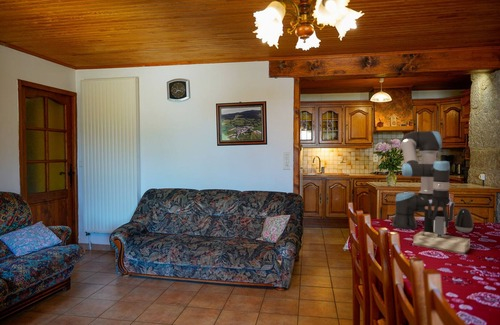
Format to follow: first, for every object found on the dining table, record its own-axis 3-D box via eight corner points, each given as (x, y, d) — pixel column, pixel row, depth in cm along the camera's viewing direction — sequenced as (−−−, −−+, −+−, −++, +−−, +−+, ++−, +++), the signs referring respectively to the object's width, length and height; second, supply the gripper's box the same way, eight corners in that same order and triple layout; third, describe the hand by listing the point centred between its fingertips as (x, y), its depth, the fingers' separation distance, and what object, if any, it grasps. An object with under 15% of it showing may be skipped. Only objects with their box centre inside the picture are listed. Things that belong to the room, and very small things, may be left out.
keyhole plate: (413, 244, 181) (413, 235, 181) (421, 239, 192) (421, 231, 191) (464, 254, 165) (464, 244, 165) (469, 248, 175) (470, 239, 175)
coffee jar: (447, 240, 191) (448, 209, 190) (427, 239, 193) (427, 208, 192) (440, 235, 201) (441, 206, 200) (421, 234, 203) (422, 205, 203)
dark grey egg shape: (467, 229, 216) (468, 206, 215) (476, 233, 206) (477, 209, 205) (451, 229, 217) (451, 206, 216) (459, 233, 207) (460, 209, 206)
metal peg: (433, 243, 179) (433, 217, 178) (435, 241, 182) (436, 215, 182) (443, 245, 175) (444, 218, 175) (445, 243, 179) (446, 217, 178)
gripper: (421, 188, 181) (420, 231, 182) (457, 191, 169) (456, 236, 170) (425, 187, 186) (424, 228, 187) (460, 190, 174) (459, 234, 175)
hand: (439, 232), depth 178 cm, fingers closed on metal peg, 4 cm apart
